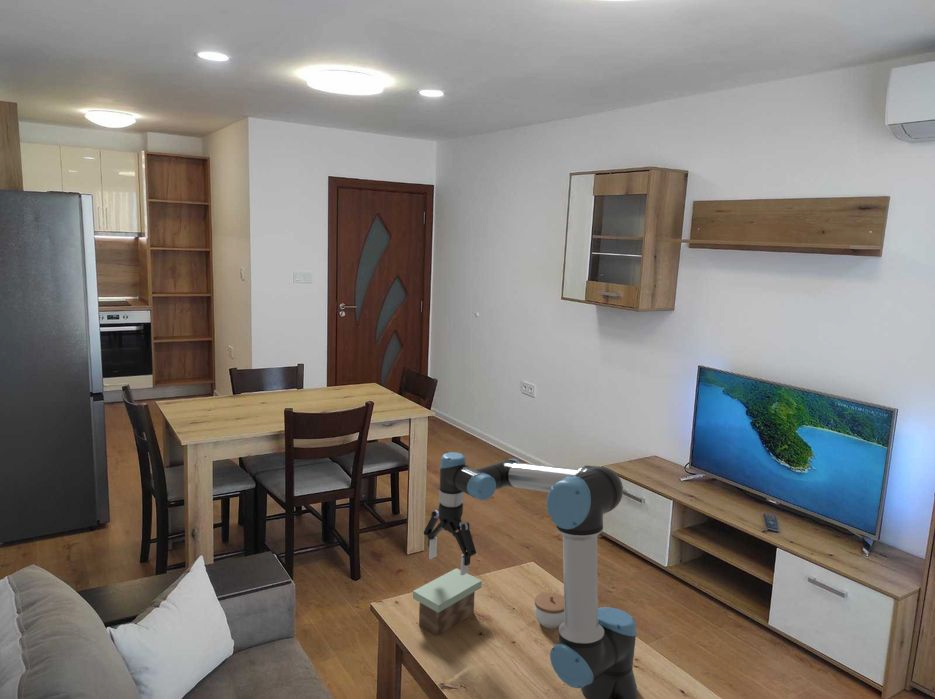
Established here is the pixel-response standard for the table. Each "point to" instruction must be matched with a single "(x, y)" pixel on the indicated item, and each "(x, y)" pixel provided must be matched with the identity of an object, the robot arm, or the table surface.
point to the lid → (446, 590)
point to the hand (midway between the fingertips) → (448, 565)
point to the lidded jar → (549, 609)
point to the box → (446, 615)
